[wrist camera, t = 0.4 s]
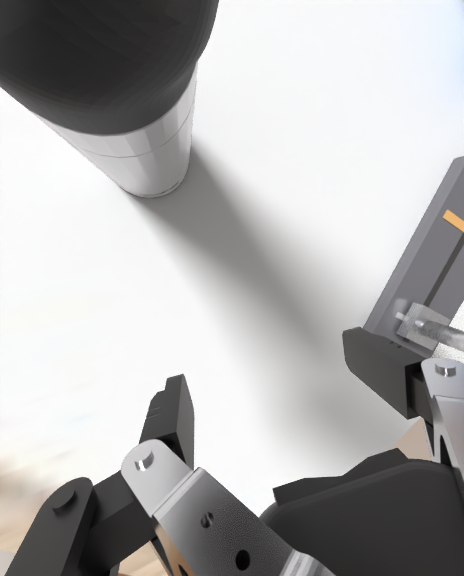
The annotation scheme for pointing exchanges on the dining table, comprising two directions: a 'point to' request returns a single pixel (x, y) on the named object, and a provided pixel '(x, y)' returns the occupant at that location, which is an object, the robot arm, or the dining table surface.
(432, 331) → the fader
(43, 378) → the dining table surface
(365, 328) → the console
